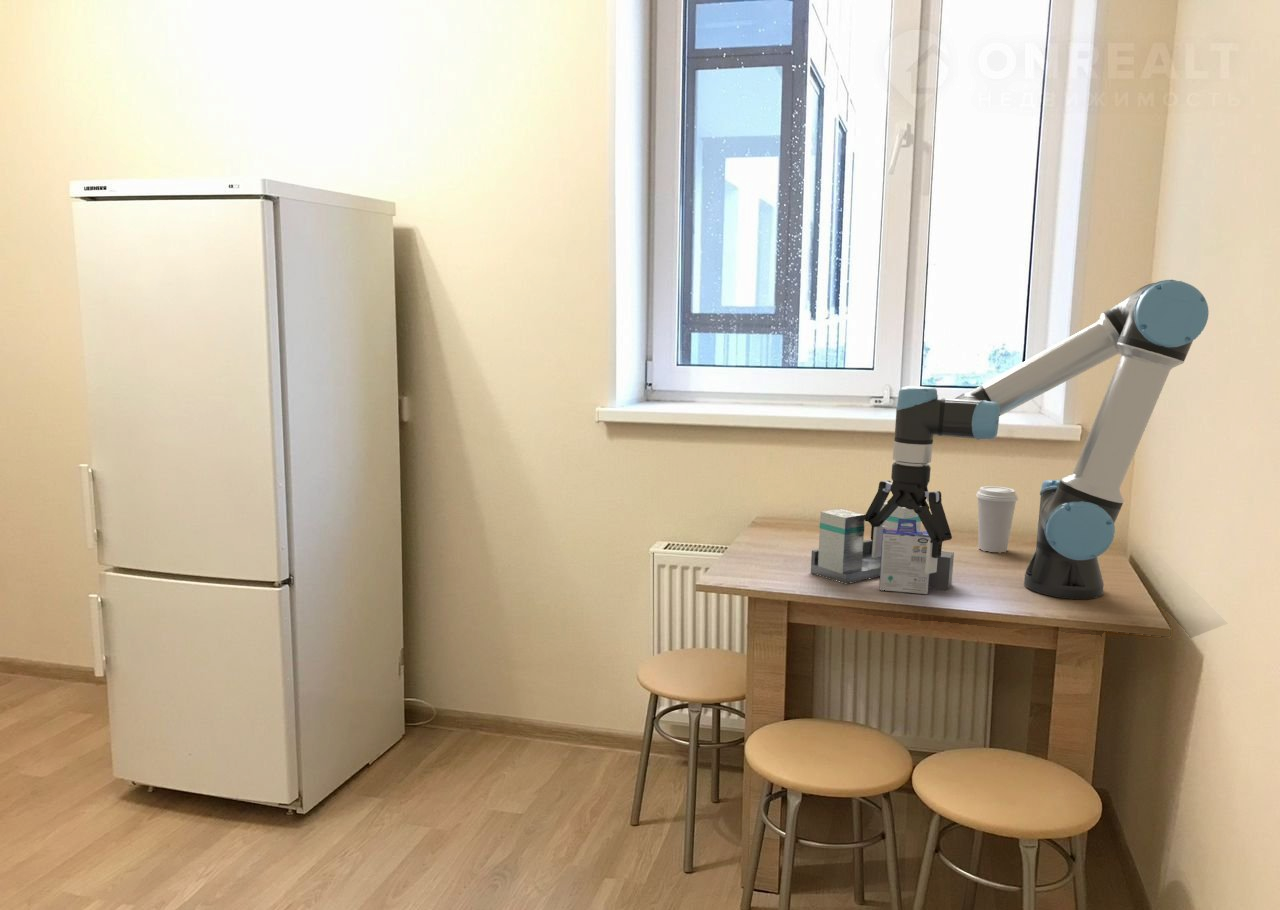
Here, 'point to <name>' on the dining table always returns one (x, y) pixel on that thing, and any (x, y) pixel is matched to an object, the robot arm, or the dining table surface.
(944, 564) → the block
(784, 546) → the dining table surface
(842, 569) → the grey stand with boxes
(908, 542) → the ink cartridge box
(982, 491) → the coffee cup
